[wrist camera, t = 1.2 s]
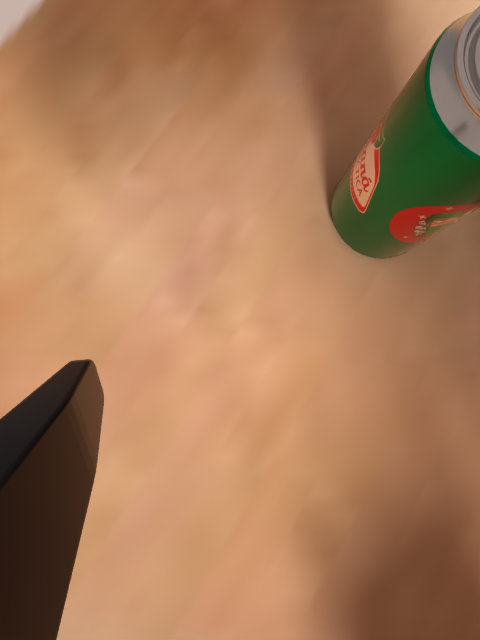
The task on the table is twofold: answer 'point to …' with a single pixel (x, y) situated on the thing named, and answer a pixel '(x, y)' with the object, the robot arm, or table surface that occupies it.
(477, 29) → the soda can
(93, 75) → the table surface
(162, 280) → the table surface
